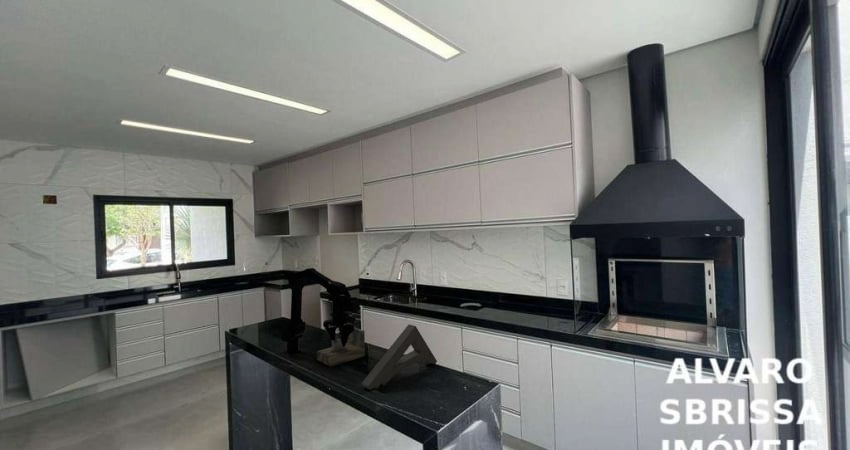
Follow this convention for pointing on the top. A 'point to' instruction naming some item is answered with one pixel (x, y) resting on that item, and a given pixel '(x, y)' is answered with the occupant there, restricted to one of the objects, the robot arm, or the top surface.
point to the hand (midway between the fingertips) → (338, 344)
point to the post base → (353, 350)
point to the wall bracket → (399, 357)
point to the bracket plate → (337, 346)
